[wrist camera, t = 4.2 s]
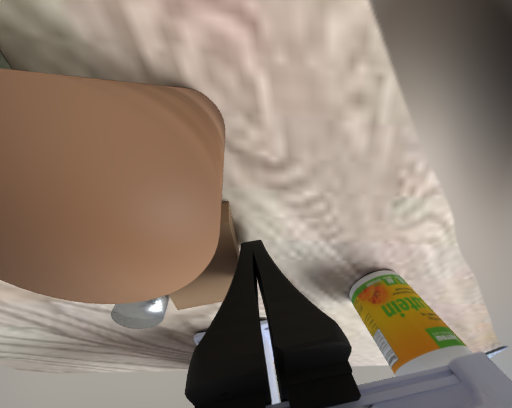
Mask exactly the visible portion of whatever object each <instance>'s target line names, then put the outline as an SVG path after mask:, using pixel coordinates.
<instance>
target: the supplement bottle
mask: <svg viewBox="0 0 512 408" xmlns="http://www.w3.org/2000/svg"><path fill="white" fill-rule="evenodd" d="M349 297H350V300H351V302H352V304H353V305H354V307H355V309H356V310H357V312H358V314H359V316H360V317H361V319H362V321H363V322H364V324H365V326H366V327H367V329H368V331H369V332H370V334H371V336H372V337H373V339H374V341H375V342H376V344H377V346H378V347H379V349H380V351H381V352H382V354H383V356H384V357H385V359H386V361H387V362H388V364H389V366H390V367H391V369H392V370H393V372H394V374H395V375H396V376H401V375H405V374H410V373H414V372H419V371H423V370H428V369H432V368H437V367H441V366H445V365H448V363H449V362H450V361H451V360H452V359H454V358H456V357H459V356H462V355H467V354H471V353H473V352H472V351H471V350H470V349H469V348H468V347H467V346H466V345H465V344H464V343H463V342H462V341H461V340H460V338H459V337H458V336H457V335H456V334H455V333H454V332H453V331H452V330H451V329H450V328H449V327H448V326H447V325H446V324H445V323H444V322H443V321H442V320H441V319H440V318H439V316H438V315H437V314H436V313H435V312H434V311H433V310H432V309H431V308H430V307H429V306H428V305H427V304H426V303H425V302H424V301H423V300H422V299H421V297H420V296H419V295H418V294H417V293H416V292H415V291H414V290H413V289H412V288H411V287H410V286H409V285H408V284H407V283H406V282H405V281H404V279H403V278H402V277H401V276H400V275H398V274H397V273H395V272H393V271H389V270H381V271H377V272H373V273H371V274H368V275H366V276H364V277H363V278H361V279H360V280H358V281H357V282H356V283H355V284H354V285H353V286H352V288H351V290H350V293H349Z"/></svg>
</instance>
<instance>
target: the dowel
mask: <svg viewBox="0 0 512 408" xmlns="http://www.w3.org/2000/svg"><path fill="white" fill-rule="evenodd" d="M224 147H225V124H224V120H223V118H222V115H221V113H220V111H219V109H218V108H217V106H216V105H215V104H214V103H213V102H212V101H211V100H210V99H209V98H208V97H207V96H205V95H204V94H202V93H200V92H198V91H196V90H193V89H189V88H180V87H170V86H161V85H152V84H142V83H133V82H123V81H114V80H104V79H95V78H86V77H76V76H67V75H57V74H48V73H39V72H29V71H20V70H10V69H1V68H0V280H2V281H4V282H7V283H9V284H12V285H14V286H17V287H20V288H23V289H26V290H29V291H32V292H35V293H38V294H42V295H46V296H50V297H54V298H59V299H64V300H69V301H76V302H83V303H95V304H124V303H134V302H141V301H146V300H151V299H155V298H158V297H162V296H165V295H168V294H170V293H172V292H175V291H177V290H179V289H181V288H182V287H184V286H186V285H188V284H189V283H190V282H192V281H193V280H194V279H196V278H197V277H198V276H199V275H200V274H201V273H202V272H203V271H204V270H205V268H206V267H207V266H208V264H209V263H210V261H211V259H212V258H213V256H214V254H215V251H216V248H217V245H218V240H219V234H220V218H221V200H222V183H223V165H224Z"/></svg>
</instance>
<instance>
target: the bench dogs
mask: <svg viewBox="0 0 512 408" xmlns="http://www.w3.org/2000/svg"><path fill="white" fill-rule="evenodd" d="M169 298H170V296H169V295H165V296H162V297H158V298H155V299H151V300H146V301H141V302H134V303H124V304H115V306H114V308H113V310H112V312H111V317H112V319H113V320H114V321H115V322H116V323H118V324H120V325H122V326H125V327H128V328H135V329H143V328H149V327H153V326H156V325H158V324H159V323H160V322H162V320H163V318H164V315H165V312H166V308H167V305H168V301H169Z"/></svg>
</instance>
